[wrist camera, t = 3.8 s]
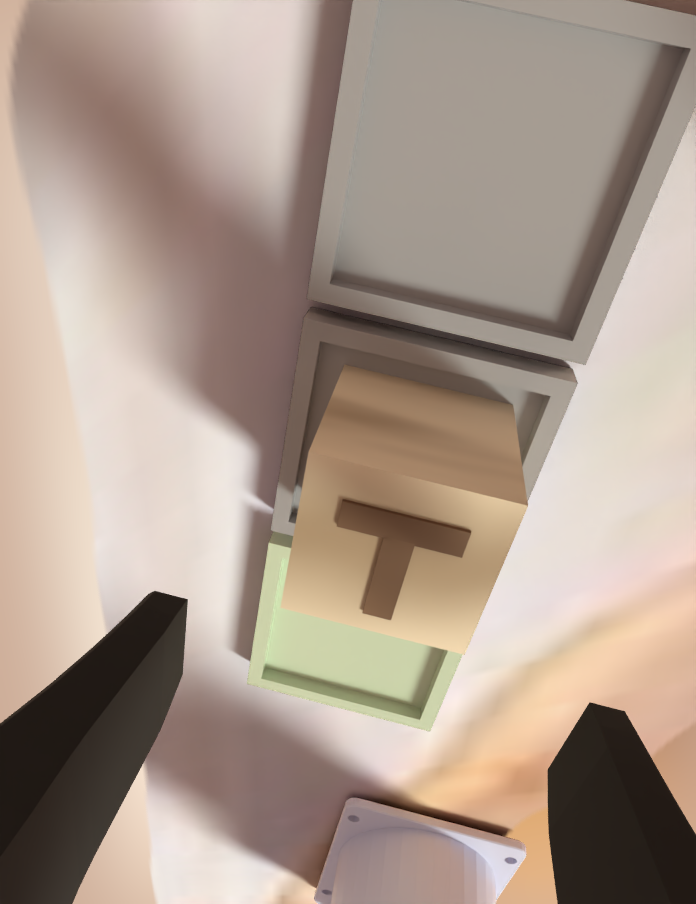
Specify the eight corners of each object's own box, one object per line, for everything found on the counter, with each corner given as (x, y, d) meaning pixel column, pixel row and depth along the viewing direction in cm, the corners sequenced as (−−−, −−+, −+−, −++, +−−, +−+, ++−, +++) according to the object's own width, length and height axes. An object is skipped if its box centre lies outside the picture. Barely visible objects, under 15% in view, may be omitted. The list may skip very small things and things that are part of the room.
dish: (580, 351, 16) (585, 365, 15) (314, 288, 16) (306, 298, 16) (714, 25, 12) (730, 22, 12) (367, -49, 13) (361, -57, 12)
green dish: (431, 710, 24) (429, 731, 23) (253, 664, 24) (246, 683, 24) (486, 577, 20) (486, 597, 20) (275, 525, 21) (268, 542, 20)
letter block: (463, 538, 19) (463, 660, 15) (317, 502, 19) (279, 613, 15) (513, 405, 17) (528, 508, 13) (344, 364, 17) (307, 453, 13)
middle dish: (490, 566, 20) (491, 585, 19) (277, 513, 20) (270, 530, 20) (572, 368, 16) (577, 383, 16) (310, 306, 17) (303, 317, 16)
